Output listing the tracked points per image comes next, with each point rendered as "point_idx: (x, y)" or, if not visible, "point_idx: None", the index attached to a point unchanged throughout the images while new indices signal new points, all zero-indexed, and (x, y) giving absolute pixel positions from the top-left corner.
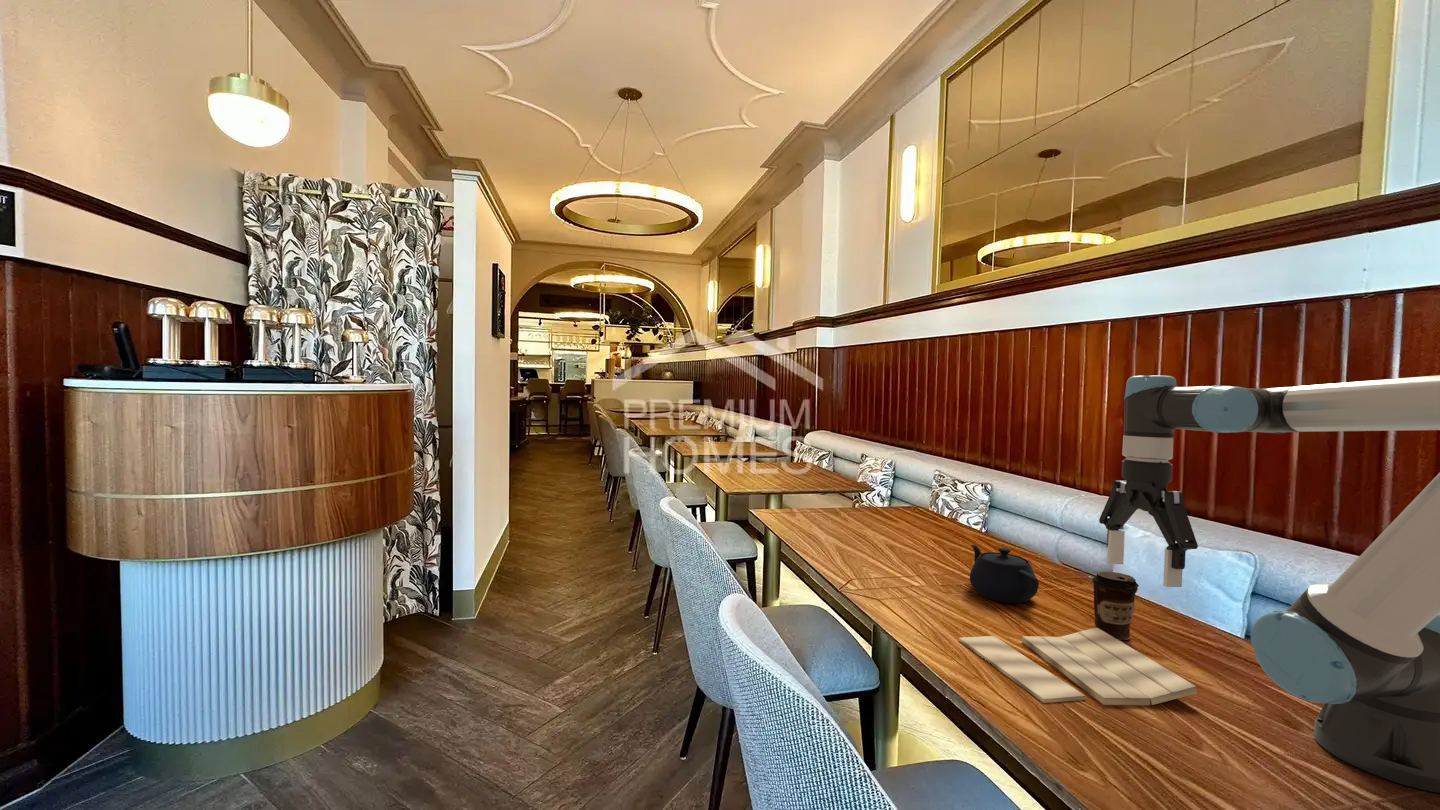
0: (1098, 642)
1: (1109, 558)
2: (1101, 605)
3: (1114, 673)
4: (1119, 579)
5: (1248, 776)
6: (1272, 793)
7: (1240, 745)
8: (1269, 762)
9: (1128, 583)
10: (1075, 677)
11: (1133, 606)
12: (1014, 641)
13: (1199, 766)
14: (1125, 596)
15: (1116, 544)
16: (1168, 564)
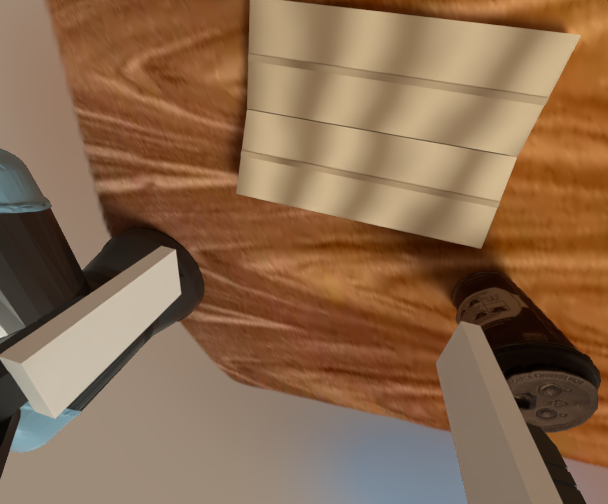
0: (433, 197)
1: (473, 340)
2: (515, 307)
3: (333, 125)
4: (516, 389)
5: (97, 76)
6: (70, 71)
7: (161, 143)
8: (132, 141)
9: None
10: (338, 7)
11: None
12: (588, 12)
13: (102, 17)
14: None
15: (477, 433)
16: (87, 298)
